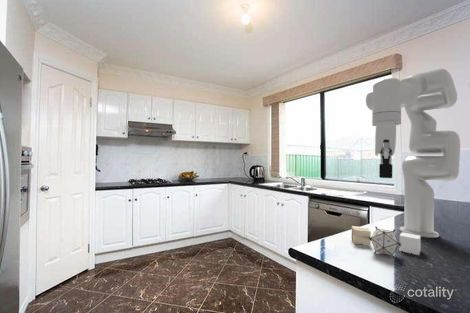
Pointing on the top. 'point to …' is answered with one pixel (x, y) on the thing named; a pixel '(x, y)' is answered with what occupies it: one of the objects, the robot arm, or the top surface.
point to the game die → (384, 241)
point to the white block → (410, 243)
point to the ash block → (361, 235)
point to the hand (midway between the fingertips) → (385, 176)
